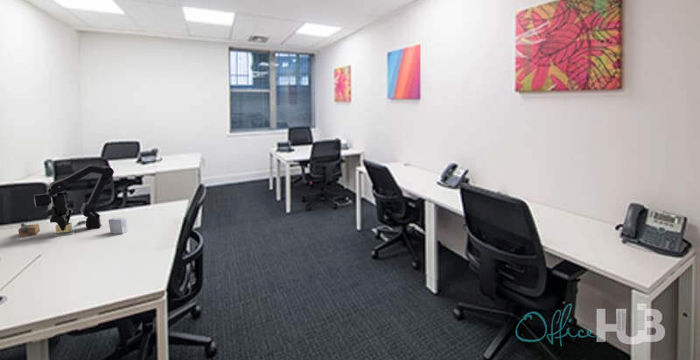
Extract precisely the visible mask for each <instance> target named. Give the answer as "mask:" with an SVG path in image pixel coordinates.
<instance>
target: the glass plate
mask: <svg viewBox="0 0 700 360" xmlns="http://www.w3.org/2000/svg"><path fill="white" fill-rule="evenodd" d="M75 232H76V229H74V230H73V229H72V230H71V231H69V232H59V233H56V234H55V235H54V238H56V237H65V236H72V235H73V234H75Z"/></svg>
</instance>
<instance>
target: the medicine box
mask: <svg viewBox="0 0 700 360" xmlns="http://www.w3.org/2000/svg"><path fill="white" fill-rule="evenodd" d="M108 224H109V225H108V226H109V232H110V234H121V235H123V234H125V233H127V232H129V229H128V222H127V217H119V216H118V217H116V216H114V217H111V218H109V219H108Z"/></svg>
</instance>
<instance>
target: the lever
mask: <svg viewBox="0 0 700 360" xmlns="http://www.w3.org/2000/svg"><path fill="white" fill-rule="evenodd" d="M26 225H27V222H21V223H20V228H21V229H22V232H27V231H29V230H28V227H27V226H26Z"/></svg>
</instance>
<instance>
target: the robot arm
mask: <svg viewBox="0 0 700 360" xmlns="http://www.w3.org/2000/svg"><path fill="white" fill-rule="evenodd" d="M92 173H93V174H98V179H97V181H96V183H95V185H94V188H93V190H92V191H91V195H90V196H89V199H88V200H87V202H82V205H81V207H80V208H79V209H80V213H81V215H83V216H84V217H85V219H86V220H85V227H86V230H95V229H100V228H101V227H102V225H103V224H101V222H102V221H101V215H100V213H98V211H96V210H97V203H98V201H99V199H100V197H101V195H102V192H103V191H104V188H105V186H106V184H107V182H108V181H109V180H111V178H112V177H113V175H114V174H115V171H114V169H113V168H112V167H110V166H106V165H103V166H98V165H96V166H95V165H91V164H88V165H86V166H84V167H83V168H81V169H79V170H77V171H75V172H73V173H72V174H70V175H68V176H67V177H63V178H59V179H57V180H54V181H51V182H50V184H49V185H48V187H49V188H48V190H47V191H45V193H40V194H33V203H34V206H35V208H40V207H45V206H50V205H51V204H53V205H52V207H51V208H49V209H46V210H45V209H44V210H43V211H41V213H40V216H41V217H42V218H44V219H47V217H50V216H51V217H50V219H49V222H50V224H51V223H52V224H53V223H55V224H56V225H59V227H60V229H61V230H62V231H64V230H65V226H66V223H70V220H71V216H72V215H73V213H74V209H72V208H71V207H68V206H69V205H68V203H67V199H66V196H69V195H70V193H69V192H67V191H66V189H67V188H69V186H70V185H71V184H73V183H75V182H77V181H79V180H80V179H82V178H83V177H85V176H87V175H90V174H92ZM69 213H70V214H69Z"/></svg>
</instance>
